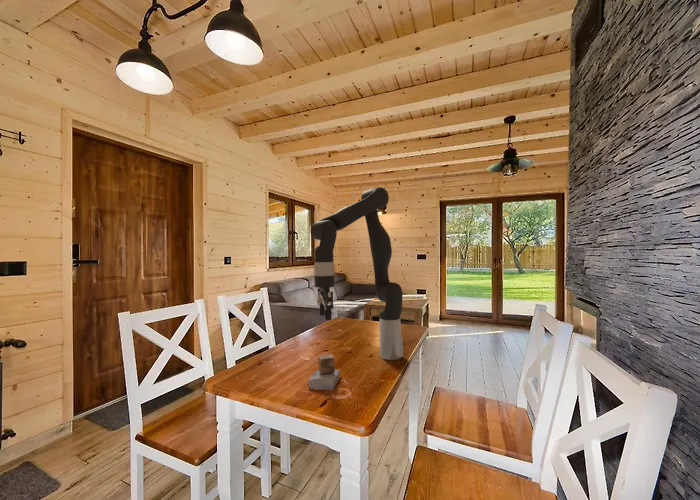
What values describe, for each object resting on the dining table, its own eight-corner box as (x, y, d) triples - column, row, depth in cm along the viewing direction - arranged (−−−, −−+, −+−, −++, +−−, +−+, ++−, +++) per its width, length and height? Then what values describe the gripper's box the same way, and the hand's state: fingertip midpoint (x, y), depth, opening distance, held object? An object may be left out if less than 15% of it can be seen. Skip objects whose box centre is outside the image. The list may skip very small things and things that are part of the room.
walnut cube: (331, 368, 107) (331, 354, 108) (334, 372, 102) (334, 357, 103) (318, 369, 106) (318, 355, 106) (321, 373, 101) (320, 359, 102)
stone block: (307, 395, 98) (334, 391, 96) (304, 380, 99) (332, 376, 97) (317, 381, 110) (342, 377, 108) (315, 368, 110) (340, 364, 109)
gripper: (339, 275, 102) (340, 320, 102) (329, 272, 115) (330, 312, 115) (318, 276, 99) (319, 322, 99) (310, 273, 113) (311, 314, 113)
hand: (325, 317), depth 107 cm, fingers open, 8 cm apart
